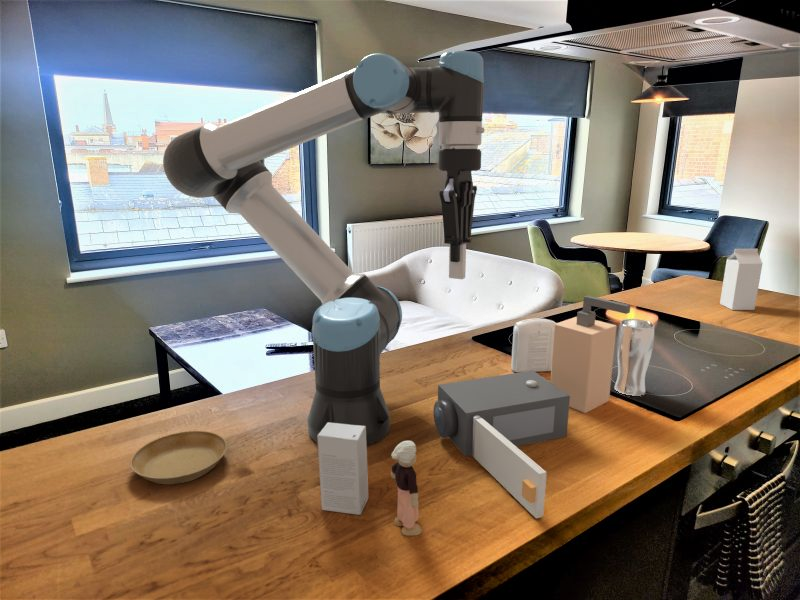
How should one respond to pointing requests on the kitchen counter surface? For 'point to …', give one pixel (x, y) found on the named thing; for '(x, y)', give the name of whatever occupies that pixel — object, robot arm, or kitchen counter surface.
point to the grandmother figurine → (406, 488)
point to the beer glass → (633, 355)
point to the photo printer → (532, 345)
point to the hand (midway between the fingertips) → (457, 277)
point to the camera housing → (502, 409)
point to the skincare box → (343, 468)
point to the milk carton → (741, 280)
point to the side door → (509, 466)
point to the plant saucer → (179, 457)
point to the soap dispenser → (585, 355)
